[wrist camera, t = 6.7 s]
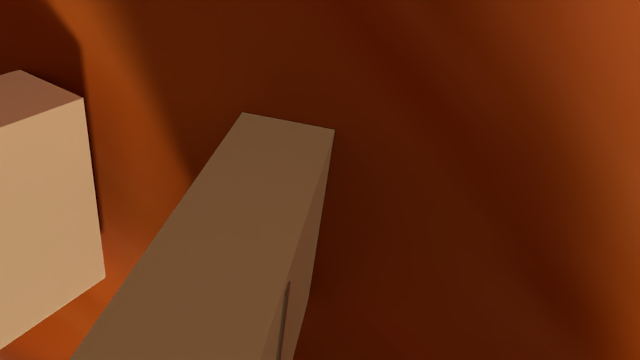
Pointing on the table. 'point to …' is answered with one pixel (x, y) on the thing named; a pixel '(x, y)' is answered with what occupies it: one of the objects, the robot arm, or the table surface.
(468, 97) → the table surface
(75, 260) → the domino
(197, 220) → the sage domino
